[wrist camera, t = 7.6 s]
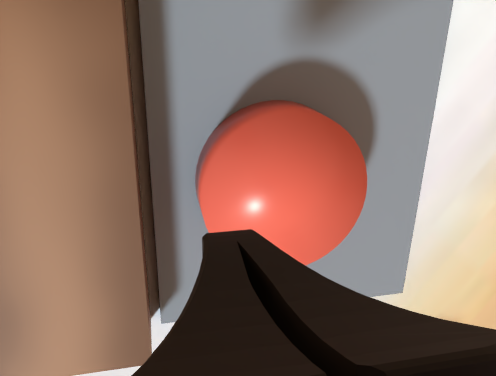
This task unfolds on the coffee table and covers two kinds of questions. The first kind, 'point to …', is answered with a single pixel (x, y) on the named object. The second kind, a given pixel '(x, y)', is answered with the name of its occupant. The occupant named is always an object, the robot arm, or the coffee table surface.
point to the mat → (300, 91)
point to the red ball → (282, 178)
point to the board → (69, 192)
